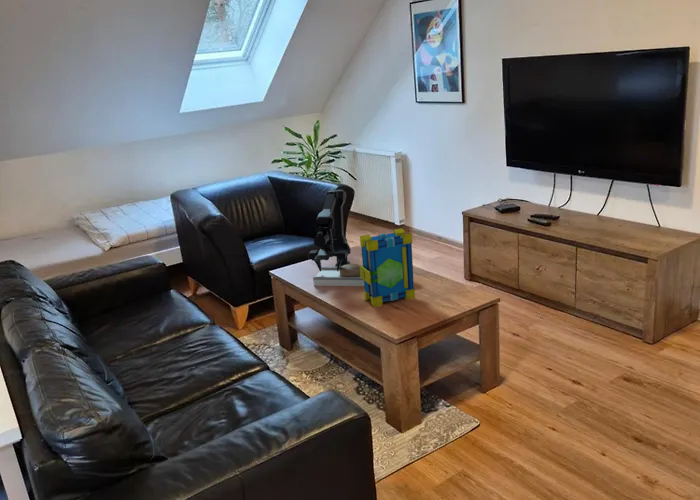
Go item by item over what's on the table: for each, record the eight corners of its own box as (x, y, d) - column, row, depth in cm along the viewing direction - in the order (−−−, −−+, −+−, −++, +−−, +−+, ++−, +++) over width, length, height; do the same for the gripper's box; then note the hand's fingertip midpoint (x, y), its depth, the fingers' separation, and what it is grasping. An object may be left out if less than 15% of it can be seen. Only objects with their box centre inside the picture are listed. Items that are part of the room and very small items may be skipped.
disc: (343, 270, 314) (343, 263, 313) (365, 271, 311) (364, 264, 310) (337, 278, 304) (336, 271, 303) (359, 279, 301) (359, 272, 300)
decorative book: (360, 299, 285) (355, 235, 276) (407, 288, 293) (403, 226, 283) (373, 310, 272) (368, 243, 263) (421, 299, 280) (418, 234, 271)
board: (322, 274, 320) (321, 264, 318) (382, 275, 312) (381, 264, 311) (313, 285, 306) (312, 275, 304) (377, 286, 298) (376, 275, 297)
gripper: (303, 245, 300) (306, 276, 305) (341, 246, 295) (343, 277, 300) (309, 238, 310) (312, 268, 315) (346, 238, 306) (349, 269, 310)
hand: (329, 271), depth 310 cm, fingers open, 8 cm apart
